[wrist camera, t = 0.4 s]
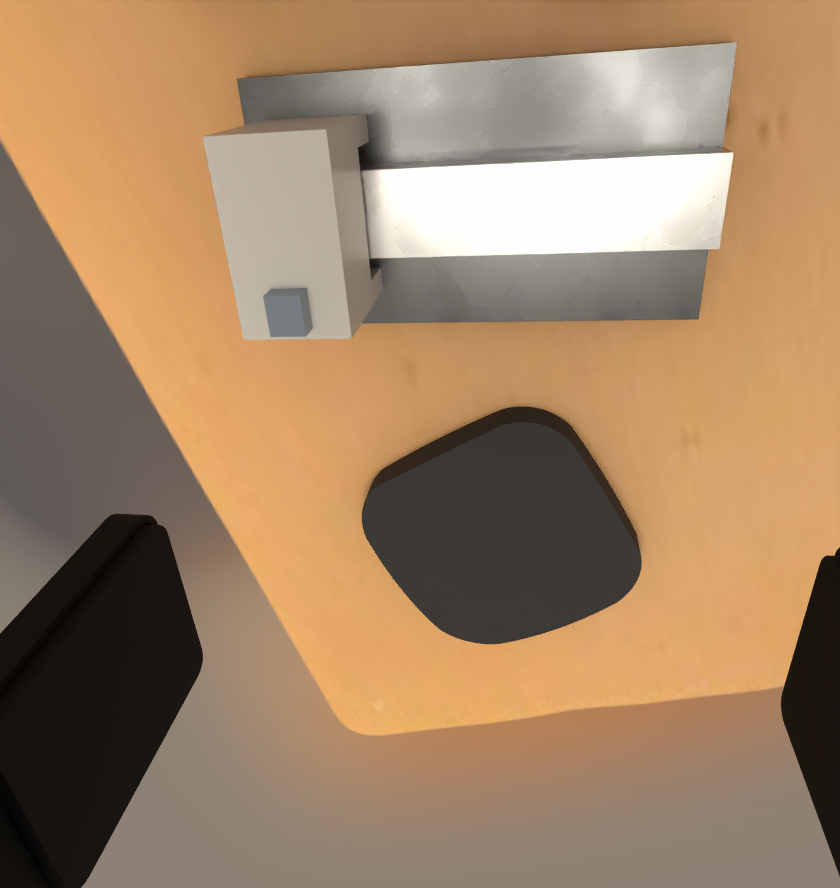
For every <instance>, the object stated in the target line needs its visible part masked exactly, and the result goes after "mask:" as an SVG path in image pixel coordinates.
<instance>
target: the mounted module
mask: <svg viewBox="0 0 840 888" xmlns="http://www.w3.org/2000/svg"><path fill="white" fill-rule="evenodd" d="M203 141H204V146H205V151H206V156H207V161H208V166H209V171H210V176H211V181H212V186H213V191H214V196H215V200H216V205H217V210H218V215H219V220H220V225H221V230H222V235H223V240H224V245H225V250H226V255H227V259H228V264H229V269H230V274H231V279H232V284H233V289H234V294H235V299H236V304H237V309H238V313H239V318H240V323H241V328H242V333H243V338H244V340H272V339H352V338H353V336H354V334H355V333H356V331H357V330H358V328H359V327H360V325H361V323H362V322H363V320H364V319H365V317H366V316H367V314H368V313H369V311H370V309H371V308H372V306H373V305H374V303H375V302H376V300H377V299H378V297H379V295H380V294H381V292H382V291H383V287H382V277H381V268H370V263H369V253H368V243H367V233H366V223H365V214H364V204H363V194H362V184H361V174H360V165H359V155H358V147H360V146H362V145H364V144H366V143H367V142H369V139H368V128H367V118H366V114H354V115H338V116H322V117H306V118H290V119H274V120H263V121H259V122H255V123H251V124H248V125H244V126H240V127H237V128H233V129H229V130H225V131H222V132H218V133H214V134H210V135H207V136H203Z"/></svg>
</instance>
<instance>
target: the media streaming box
mask: <svg viewBox="0 0 840 888" xmlns="http://www.w3.org/2000/svg"><path fill="white" fill-rule="evenodd" d="M362 524H363V529H364V533H365V536H366V538H367V540H368V542H369V543H370V545H371V547H372V548H373V550H374V551H375V553H376V554H377V556H378V558H379V559H380V561H381V562H382V564H383V565H384V566H385V568H386V569H387V571H388V572H389V574H390V575H391V576H392V578H393V579H394V580H395V582H396V583H397V584H398V585H399V587H400V588H401V589H402V590H403V592H404V593H405V594H406V595H407V596H408V598H409V599H410V600H411V601H412V602H413V603H414V604H415V606H416V607H417V608H418V609H419V610H420V611H421V612H422V613H423V614H424V615H425V616H426V617H427V618H428V619H429V620H430V621H431V622H432V623H433V624H434V625H435V626H437V627H438V628H439V629H440V630H442V631H443V632H445V633H447V634H449V635H451V636H454V637H456V638H459V639H462V640H465V641H469V642H474V643H481V644H501V643H506V642H511V641H516V640H520V639H524V638H528V637H532V636H536V635H539V634H543V633H546V632H549V631H552V630H555V629H558V628H561V627H563V626H566V625H569V624H571V623H574V622H576V621H579V620H581V619H584V618H586V617H588V616H590V615H593V614H595V613H597V612H599V611H601V610H603V609H605V608H607V607H609V606H611V605H613V604H615V603H617V602H618V601H619V600H621V599H622V598H623V597H624V596H625V595H626V594H627V593H628V592H629V591H630V590H631V589H632V588H633V586H634V585H635V583H636V581H637V579H638V577H639V575H640V571H641V563H642V562H641V555H640V550H639V545H638V539H637V535H636V532H635V530H634V528H633V526H632V524H631V522H630V520H629V518H628V517H627V515H626V513H625V511H624V509H623V507H622V506H621V504H620V502H619V500H618V498H617V497H616V495H615V493H614V491H613V490H612V488H611V486H610V485H609V483H608V481H607V480H606V478H605V476H604V475H603V473H602V472H601V470H600V468H599V467H598V465H597V464H596V462H595V461H594V459H593V457H592V456H591V454H590V453H589V451H588V450H587V448H586V447H585V445H584V444H583V443H582V441H581V440H580V438H579V437H578V435H577V434H576V433H575V431H574V430H573V428H572V427H571V426H570V425H569V424H568V423H567V422H565V421H564V420H563V419H561V418H560V417H558V416H556V415H554V414H552V413H550V412H547V411H544V410H541V409H537V408H530V407H514V408H507V409H503V410H500V411H498V412H496V413H493V414H491V415H489V416H486V417H484V418H482V419H480V420H477V421H475V422H473V423H471V424H468V425H466V426H464V427H462V428H460V429H458V430H456V431H454V432H451V433H449V434H447V435H445V436H443V437H441V438H439V439H437V440H435V441H433V442H431V443H429V444H427V445H425V446H424V447H422V448H420V449H418V450H416V451H414V452H412V453H410V454H409V455H407V456H405V457H403V458H401V459H400V460H398V461H396V462H394V463H393V464H391V465H389V466H387V467H386V468H384V469H383V470H382V471H381V472H380V473H379V474H378V475H377V476H376V477H375V479H374V481H373V482H372V485H371V487H370V490H369V492H368V495H367V497H366V500H365V503H364V506H363V510H362Z"/></svg>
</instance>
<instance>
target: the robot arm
mask: <svg viewBox="0 0 840 888" xmlns="http://www.w3.org/2000/svg"><path fill="white" fill-rule="evenodd" d="M202 661H203V653H202V648H201V644H200V641H199V637H198V634H197V631H196V628H195V624H194V621H193V617H192V614H191V610H190V607H189V604H188V600H187V597H186V593H185V590H184V587H183V583H182V580H181V577H180V573H179V570H178V567H177V563H176V560H175V556H174V553H173V549H172V546H171V543H170V539H169V536H168V533H167V531H166V529H165V528H164V527H163V526H161V525H158V524H157V521H156V520H155V519H154V518H153V517H152V516H149V515H133V514H113V515H110V516H109V517H108V518H107V519H106V520H105V521H104V522H103V523H102V524H101V525H100V526H99V527H98V528H97V529H96V530H95V532H94V533H93V534H92V535H91V536H90V537H89V538H88V539H87V540H86V542H84V543H83V544H82V546H81V547H80V548H79V549H78V550H77V551H76V552H75V553H74V554H73V555H72V556H71V558H70V559H69V560H68V561H67V562H66V563H65V564H64V565H63V566H62V568H60V569H59V571H58V572H57V573H56V574H55V575H54V576H53V577H52V578H51V579H50V580H49V581H48V582H47V584H46V585H45V586H44V587H43V588H42V589H41V590H40V591H39V592H38V594H36V596H35V597H34V598H33V599H32V600H31V601H30V602H29V603H28V604H27V605H26V606H25V608H24V609H23V610H22V611H21V612H20V613H19V614H18V615H17V616H16V617H15V618H14V619H13V620H12V622H11V623H10V624H9V625H8V626H7V627H6V628H5V629H4V630H3V631H2V633H1V634H0V888H81V887H82V886H83V885H84V883H85V882H86V881H87V879H88V877H89V876H90V874H91V872H92V870H93V868H94V866H95V865H96V863H97V861H98V859H99V857H100V856H101V854H102V852H103V850H104V848H105V846H106V844H107V843H108V841H109V839H110V837H111V835H112V833H113V831H114V830H115V828H116V826H117V824H118V822H119V820H120V819H121V817H122V815H123V813H124V811H125V810H126V808H127V806H128V804H129V802H130V800H131V799H132V796H133V795H134V793H135V791H136V789H137V787H138V786H139V784H140V782H141V780H142V778H143V776H144V775H145V773H146V771H147V769H148V767H149V765H150V764H151V762H152V760H153V758H154V756H155V754H156V753H157V751H158V749H159V747H160V745H161V743H162V741H163V740H164V738H165V736H166V734H167V732H168V730H169V729H170V727H171V725H172V723H173V721H174V719H175V718H176V716H177V714H178V712H179V710H180V708H181V707H182V705H183V703H184V701H185V699H186V697H187V695H188V694H189V692H190V690H191V688H192V686H193V684H194V682H195V681H196V679H197V677H198V675H199V673H200V670H201V666H202ZM781 709H782V717H783V721H784V724H785V727H786V730H787V732H788V735H789V738H790V741H791V743H792V746H793V749H794V752H795V754H796V757H797V760H798V763H799V765H800V768H801V771H802V774H803V777H804V779H805V782H806V785H807V788H808V790H809V793H810V795H811V799H812V801H813V804H814V807H815V809H816V812H817V815H818V818H819V821H820V823H821V826H822V829H823V832H824V834H825V837H826V840H827V842H828V845H829V848H830V850H831V854H832V856H833V859H834V862H835V865H836V867H837V870H838V873H839V876H840V548H839V549H838V550H837V551H836V553H835V556H825V557H824V558H823V559H822V560H821V563H820V565H819V569H818V572H817V576H816V579H815V583H814V586H813V589H812V593H811V596H810V600H809V603H808V607H807V610H806V613H805V617H804V620H803V624H802V627H801V631H800V634H799V637H798V641H797V644H796V648H795V651H794V655H793V658H792V661H791V665H790V668H789V672H788V675H787V679H786V682H785V686H784V689H783V693H782V697H781Z"/></svg>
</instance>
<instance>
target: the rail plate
mask: <svg viewBox="0 0 840 888" xmlns="http://www.w3.org/2000/svg"><path fill="white" fill-rule="evenodd" d="M736 47H737V42H731V43H718V44H704V45H690V46H677V47H663V48H649V49H636V50H622V51H608V52H595V53H581V54H567V55H554V56H540V57H526V58H513V59H499V60H485V61H472V62H458V63H444V64H431V65H417V66H403V67H390V68H376V69H362V70H349V71H335V72H321V73H308V74H294V75H280V76H267V77H253V78H241V79H237V82H238V88H239V94H240V100H241V105H242V111H243V117H244V123H245V125H248V124H251V123H255V122H259V121H263V120H274V119H290V118H306V117H322V116H338V115H354V114H366V118H367V128H368V139H369V142H367V143H366V144H364V145H362V146H360V147H358V155H359V165H360V174H361V184H362V194H363V204H364V214H365V223H366V233H367V243H368V253H369V263H370V268H381V277H382V287H383V291H382V292H381V294H380V295H379V297H378V299H377V300H376V302H375V303H374V305H373V306H372V308H371V309H370V311H369V313H368V314H367V316H366V317H365V319H364V320H363V322H362V323H429V322H514V321H598V320H683V319H699V312H700V304H701V297H702V290H703V283H704V276H705V269H706V262H707V254H708V249H719V248H720V241H721V234H722V227H723V220H724V214H725V207H726V200H727V193H728V187H729V180H730V173H731V166H732V160H733V152H732V151H730V150H728V149H726V148H724V147H723V140H724V133H725V126H726V119H727V112H728V104H729V97H730V90H731V83H732V76H733V69H734V62H735V54H736Z"/></svg>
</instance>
